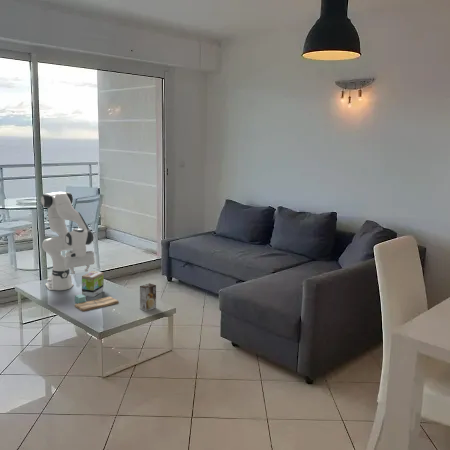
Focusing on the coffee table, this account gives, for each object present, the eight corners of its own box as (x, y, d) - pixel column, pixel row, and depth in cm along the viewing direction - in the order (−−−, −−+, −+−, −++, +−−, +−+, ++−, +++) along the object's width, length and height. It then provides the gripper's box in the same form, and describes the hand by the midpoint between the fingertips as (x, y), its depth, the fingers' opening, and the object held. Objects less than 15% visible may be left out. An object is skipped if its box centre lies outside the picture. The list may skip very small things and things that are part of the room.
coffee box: (149, 305, 310) (149, 283, 308) (156, 307, 307) (156, 284, 304) (139, 309, 303) (139, 286, 300) (146, 311, 299) (146, 288, 297)
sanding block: (75, 302, 311) (74, 295, 310) (81, 301, 314) (81, 294, 314) (79, 305, 307) (78, 297, 306) (85, 303, 310) (85, 296, 309)
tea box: (94, 297, 323) (94, 277, 320) (81, 296, 324) (80, 276, 322) (104, 291, 337) (103, 271, 335) (91, 289, 339) (91, 270, 336)
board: (74, 306, 304) (74, 304, 303) (109, 298, 321) (109, 296, 321) (83, 311, 295) (83, 309, 295) (118, 303, 313) (118, 300, 313)
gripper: (91, 249, 314) (91, 269, 316) (62, 253, 300) (63, 274, 302) (95, 251, 309) (96, 271, 312) (67, 255, 295) (67, 276, 298)
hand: (79, 272), depth 307 cm, fingers open, 8 cm apart
